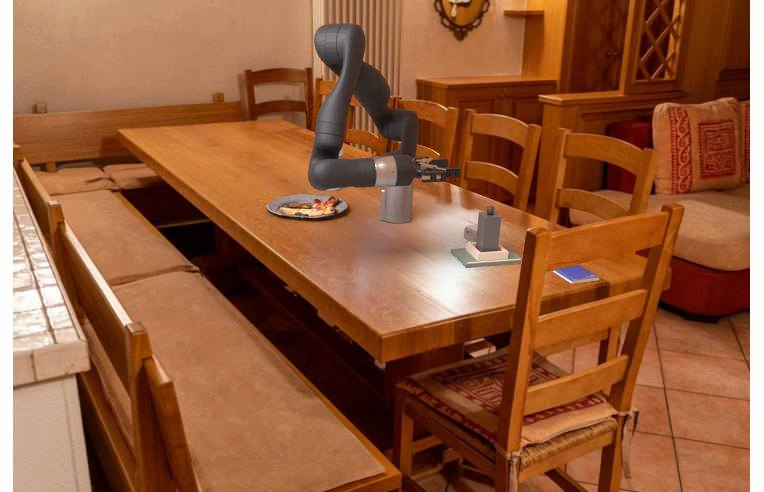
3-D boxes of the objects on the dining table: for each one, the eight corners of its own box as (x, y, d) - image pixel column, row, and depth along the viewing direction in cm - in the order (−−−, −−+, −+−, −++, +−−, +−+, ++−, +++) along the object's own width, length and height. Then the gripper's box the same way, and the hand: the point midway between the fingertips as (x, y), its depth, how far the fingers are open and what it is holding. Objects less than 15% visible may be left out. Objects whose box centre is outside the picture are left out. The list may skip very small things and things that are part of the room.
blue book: (600, 276, 170) (570, 258, 181) (572, 279, 168) (543, 261, 178) (599, 282, 171) (569, 264, 182) (571, 285, 168) (543, 267, 179)
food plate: (356, 203, 224) (356, 193, 223) (337, 226, 202) (337, 215, 201) (283, 198, 229) (282, 188, 227) (257, 220, 207) (256, 209, 206)
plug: (481, 257, 179) (486, 209, 175) (475, 251, 183) (479, 204, 179) (498, 256, 180) (503, 209, 176) (491, 250, 184) (496, 204, 180)
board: (465, 267, 175) (466, 256, 174) (450, 252, 185) (451, 241, 184) (522, 263, 179) (524, 252, 178) (504, 248, 189) (506, 238, 188)
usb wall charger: (463, 239, 195) (464, 226, 194) (479, 234, 200) (481, 221, 198) (473, 243, 192) (474, 230, 191) (490, 238, 197) (491, 225, 195)
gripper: (399, 164, 159) (465, 160, 163) (383, 148, 172) (444, 145, 176) (398, 195, 162) (463, 190, 166) (382, 177, 174) (443, 174, 179)
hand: (453, 167), depth 171 cm, fingers open, 8 cm apart
